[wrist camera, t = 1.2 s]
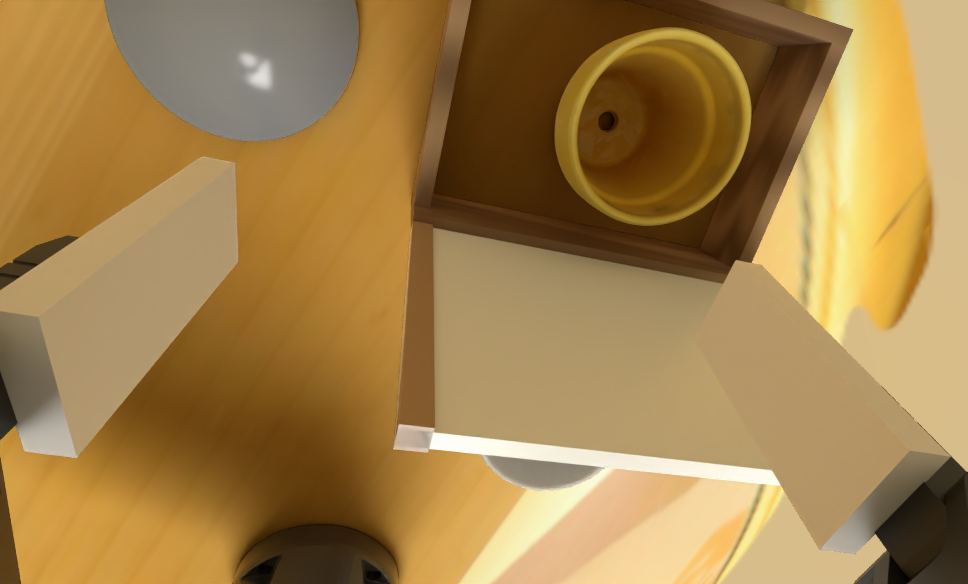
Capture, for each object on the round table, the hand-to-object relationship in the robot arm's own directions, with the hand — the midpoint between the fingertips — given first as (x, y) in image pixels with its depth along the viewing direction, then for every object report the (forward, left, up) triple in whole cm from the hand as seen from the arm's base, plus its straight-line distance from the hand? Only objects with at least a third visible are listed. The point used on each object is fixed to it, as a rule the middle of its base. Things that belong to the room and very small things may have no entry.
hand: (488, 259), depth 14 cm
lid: (-6, -11, -17) cm, 21 cm away
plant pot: (+4, -11, -24) cm, 27 cm away
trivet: (+5, +13, -24) cm, 28 cm away
